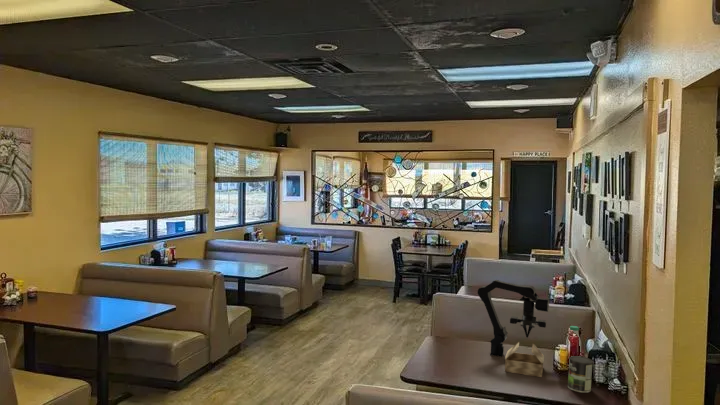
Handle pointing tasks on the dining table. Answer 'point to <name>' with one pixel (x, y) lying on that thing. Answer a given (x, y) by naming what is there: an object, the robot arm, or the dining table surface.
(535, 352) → the flap
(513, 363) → the carton
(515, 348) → the flap
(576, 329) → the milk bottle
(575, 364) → the coffee can
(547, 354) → the dining table surface
